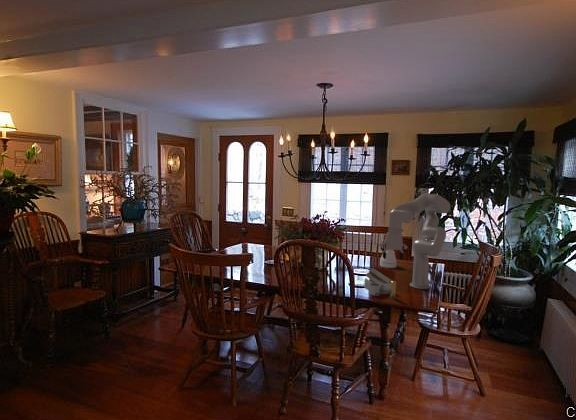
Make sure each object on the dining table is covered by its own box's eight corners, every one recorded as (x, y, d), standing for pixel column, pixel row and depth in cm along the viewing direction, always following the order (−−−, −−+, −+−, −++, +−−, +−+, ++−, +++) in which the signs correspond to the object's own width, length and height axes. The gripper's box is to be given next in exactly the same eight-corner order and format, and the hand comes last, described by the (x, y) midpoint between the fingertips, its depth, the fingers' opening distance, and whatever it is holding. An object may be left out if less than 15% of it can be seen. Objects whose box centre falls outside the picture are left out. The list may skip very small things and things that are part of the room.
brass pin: (393, 296, 226) (394, 280, 224) (396, 298, 222) (397, 282, 221) (388, 296, 225) (389, 280, 224) (391, 298, 222) (392, 282, 221)
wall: (383, 286, 258) (367, 271, 261) (391, 279, 253) (375, 263, 257) (376, 297, 244) (359, 280, 247) (385, 289, 240) (368, 272, 243)
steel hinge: (383, 286, 245) (384, 277, 245) (396, 294, 229) (397, 285, 229) (360, 287, 242) (360, 278, 241) (371, 296, 226) (372, 286, 225)
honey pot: (381, 263, 310) (383, 241, 308) (397, 265, 304) (398, 243, 303) (378, 266, 299) (379, 244, 297) (394, 268, 293) (395, 246, 291)
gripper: (406, 231, 227) (404, 258, 229) (378, 229, 227) (376, 256, 229) (411, 232, 220) (408, 261, 221) (382, 231, 220) (379, 259, 221)
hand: (392, 258), depth 225 cm, fingers open, 9 cm apart
